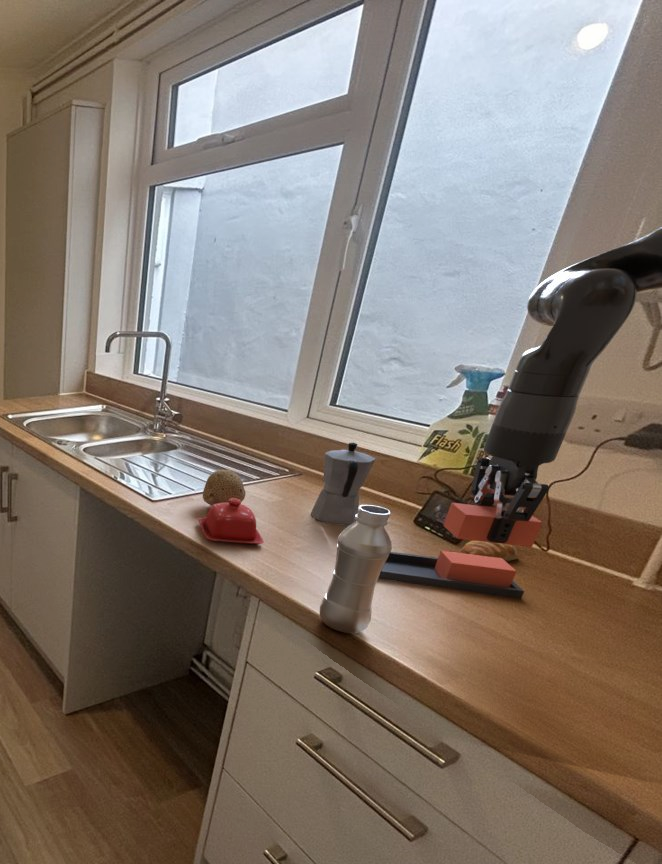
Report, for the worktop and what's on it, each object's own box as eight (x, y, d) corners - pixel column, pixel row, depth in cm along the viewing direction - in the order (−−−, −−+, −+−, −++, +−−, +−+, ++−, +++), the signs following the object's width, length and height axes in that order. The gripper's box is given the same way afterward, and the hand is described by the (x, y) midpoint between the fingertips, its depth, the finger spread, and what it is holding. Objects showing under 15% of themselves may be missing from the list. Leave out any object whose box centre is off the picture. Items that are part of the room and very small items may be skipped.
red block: (494, 577, 95) (502, 558, 93) (508, 591, 91) (517, 571, 89) (433, 569, 98) (440, 550, 96) (444, 582, 94) (452, 562, 92)
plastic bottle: (371, 642, 79) (411, 521, 71) (320, 633, 81) (353, 514, 73) (360, 619, 84) (395, 504, 77) (312, 611, 87) (342, 498, 79)
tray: (492, 575, 97) (496, 565, 96) (519, 602, 89) (524, 591, 88) (356, 556, 104) (358, 547, 103) (369, 580, 96) (372, 569, 95)
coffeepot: (308, 505, 129) (326, 433, 122) (354, 511, 125) (374, 438, 118) (311, 528, 116) (331, 450, 109) (362, 536, 112) (386, 456, 105)
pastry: (486, 569, 99) (493, 551, 97) (447, 554, 105) (453, 536, 103) (519, 561, 102) (526, 543, 100) (479, 546, 108) (485, 529, 106)
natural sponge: (249, 510, 126) (256, 471, 122) (229, 520, 121) (236, 479, 117) (214, 499, 133) (220, 462, 129) (193, 508, 128) (199, 469, 124)
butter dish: (265, 549, 107) (273, 510, 104) (205, 545, 109) (212, 507, 106) (249, 526, 118) (256, 490, 115) (195, 522, 120) (201, 487, 117)
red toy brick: (513, 533, 81) (523, 509, 79) (532, 547, 77) (543, 522, 75) (443, 525, 84) (451, 502, 82) (456, 538, 79) (465, 514, 78)
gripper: (599, 439, 66) (545, 558, 73) (534, 415, 79) (493, 519, 85) (524, 434, 69) (478, 550, 75) (472, 412, 81) (437, 513, 87)
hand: (486, 533), depth 80 cm, fingers closed on red toy brick, 5 cm apart
